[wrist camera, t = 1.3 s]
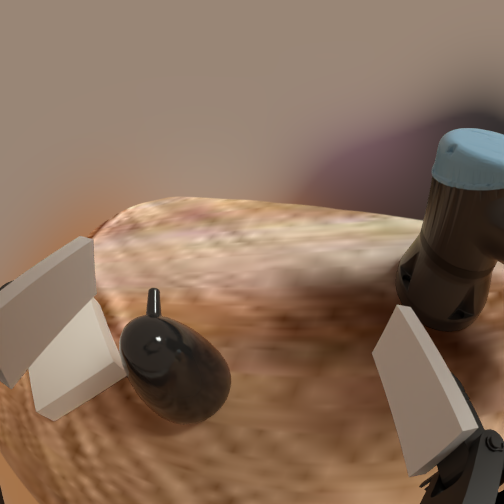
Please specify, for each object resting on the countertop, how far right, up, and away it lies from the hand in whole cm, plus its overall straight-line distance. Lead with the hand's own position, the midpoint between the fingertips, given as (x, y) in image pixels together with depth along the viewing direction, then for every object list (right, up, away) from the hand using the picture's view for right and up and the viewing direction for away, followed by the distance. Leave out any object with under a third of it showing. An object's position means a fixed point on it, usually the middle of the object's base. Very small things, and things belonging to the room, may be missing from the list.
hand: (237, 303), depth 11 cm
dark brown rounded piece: (-6, -15, +20) cm, 26 cm away
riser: (-27, -15, +25) cm, 40 cm away
